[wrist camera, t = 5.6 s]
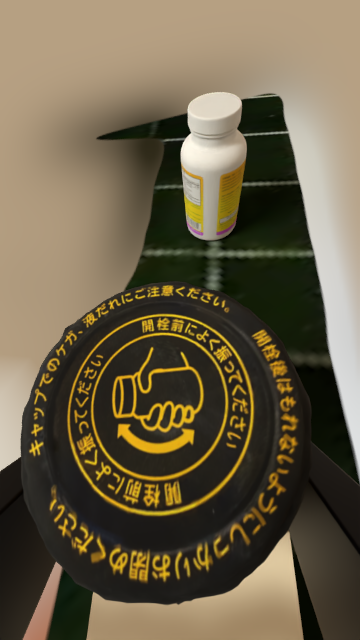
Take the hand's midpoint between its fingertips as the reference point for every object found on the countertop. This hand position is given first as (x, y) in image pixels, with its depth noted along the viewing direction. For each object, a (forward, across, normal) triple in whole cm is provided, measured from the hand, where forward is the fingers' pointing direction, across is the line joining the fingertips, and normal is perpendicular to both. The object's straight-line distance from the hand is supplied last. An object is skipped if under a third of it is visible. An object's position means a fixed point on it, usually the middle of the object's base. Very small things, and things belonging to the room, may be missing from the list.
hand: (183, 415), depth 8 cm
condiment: (+4, 0, +5) cm, 7 cm away
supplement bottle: (+27, -2, -8) cm, 28 cm away
